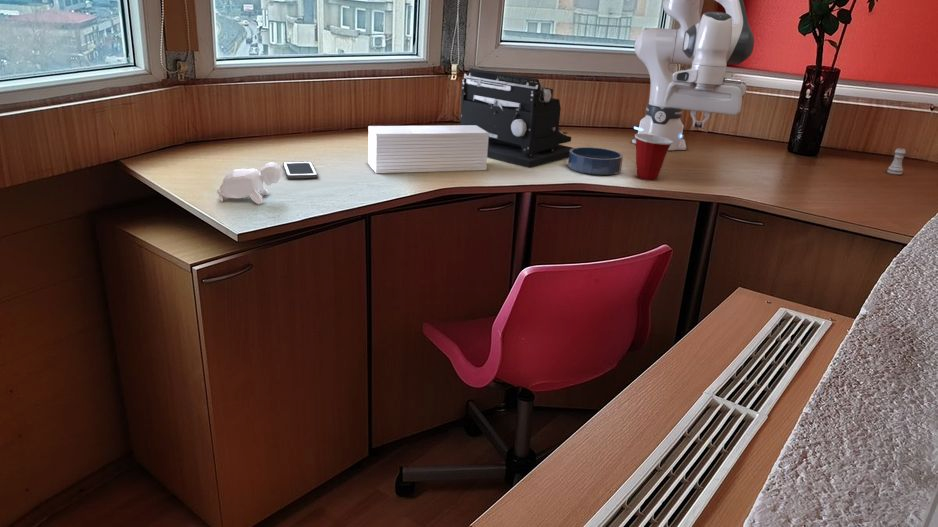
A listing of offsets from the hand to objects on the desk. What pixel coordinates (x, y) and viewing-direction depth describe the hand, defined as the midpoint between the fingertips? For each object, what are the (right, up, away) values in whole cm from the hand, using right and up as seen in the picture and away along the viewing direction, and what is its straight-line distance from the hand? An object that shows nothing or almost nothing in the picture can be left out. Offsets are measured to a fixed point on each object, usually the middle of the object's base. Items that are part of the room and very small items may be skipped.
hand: (698, 127), depth 197 cm
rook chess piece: (+75, -8, +35) cm, 83 cm away
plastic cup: (-11, -13, +10) cm, 20 cm away
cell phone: (-108, -13, -6) cm, 109 cm away
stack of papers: (-75, -10, +8) cm, 76 cm away
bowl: (-26, -9, +16) cm, 32 cm away
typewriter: (-48, -2, +33) cm, 58 cm away
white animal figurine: (-114, -22, -30) cm, 120 cm away
